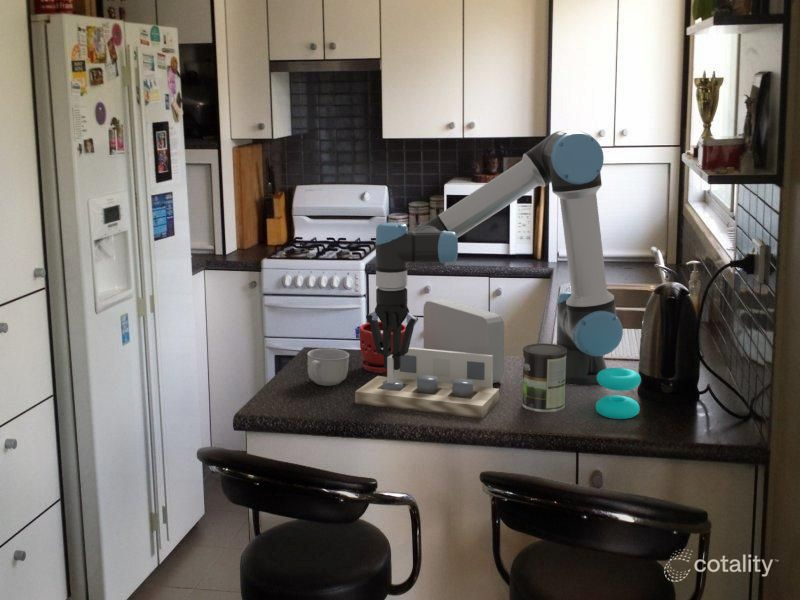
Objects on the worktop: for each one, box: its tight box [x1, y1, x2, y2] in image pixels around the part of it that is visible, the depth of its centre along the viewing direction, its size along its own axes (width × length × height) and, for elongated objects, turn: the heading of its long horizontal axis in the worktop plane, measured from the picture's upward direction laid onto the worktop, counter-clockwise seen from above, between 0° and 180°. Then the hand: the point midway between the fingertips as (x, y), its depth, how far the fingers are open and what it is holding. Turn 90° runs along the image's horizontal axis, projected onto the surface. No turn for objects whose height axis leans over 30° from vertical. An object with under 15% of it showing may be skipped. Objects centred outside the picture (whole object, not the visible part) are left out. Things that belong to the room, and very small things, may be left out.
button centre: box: [417, 375, 438, 393], centre depth 233 cm, size 5×5×3 cm
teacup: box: [306, 348, 350, 387], centre depth 249 cm, size 14×11×8 cm
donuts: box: [595, 367, 642, 420], centre depth 224 cm, size 10×10×10 cm
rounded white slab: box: [422, 298, 505, 384], centre depth 257 cm, size 29×8×18 cm, turn 33°
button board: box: [354, 375, 500, 419], centre depth 234 cm, size 32×14×3 cm, turn 68°
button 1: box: [383, 380, 403, 391], centre depth 237 cm, size 5×5×3 cm
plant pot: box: [358, 320, 407, 374], centre depth 261 cm, size 13×13×12 cm
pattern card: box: [397, 346, 494, 388], centre depth 243 cm, size 26×5×10 cm, turn 68°
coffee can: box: [521, 342, 567, 413], centre depth 229 cm, size 10×10×14 cm
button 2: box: [452, 379, 473, 397], centre depth 230 cm, size 5×5×3 cm
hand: (392, 381), depth 237 cm, fingers closed
